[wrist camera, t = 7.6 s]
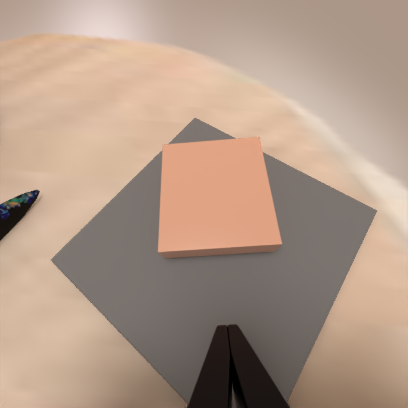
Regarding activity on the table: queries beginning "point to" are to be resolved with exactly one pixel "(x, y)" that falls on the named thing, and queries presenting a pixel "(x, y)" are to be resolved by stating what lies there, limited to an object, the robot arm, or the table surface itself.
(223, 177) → the tile
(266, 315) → the mat
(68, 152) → the table surface
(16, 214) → the knife
